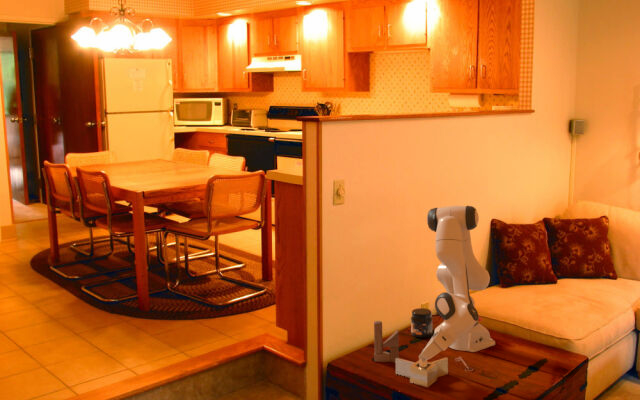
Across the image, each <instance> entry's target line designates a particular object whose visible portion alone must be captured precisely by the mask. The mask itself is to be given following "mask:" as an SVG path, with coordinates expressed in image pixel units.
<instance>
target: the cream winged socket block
mask: <svg viewBox="0 0 640 400" xmlns="http://www.w3.org/2000/svg"><path fill="white" fill-rule="evenodd" d="M448 361H449V359H448V357H447V356H446V357H442V358H440V359H437V360H433V361H430V362H429V361H427V368H426V369H424V368H420V367H419V359H418V360H417V361H416V362H414V361H410V360H406V359H404V358H395V362H394V363H395V375H397V374H398V376H400V375H401V377H404V376H405V377H404V378H408V379H409V383H410V384H413V383H414V385H417V386H422V387H424V388H429V387H430V386H432V385H433V384H434V383H435V382H437V380H438V378H439V377H442V376H445V375H448V373H449V362H448Z"/></svg>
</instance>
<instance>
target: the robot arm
mask: <svg viewBox="0 0 640 400" xmlns="http://www.w3.org/2000/svg"><path fill="white" fill-rule="evenodd" d="M479 218H480V217H479V213H478V210H477V209H476V207H474V206H473V205H466V206H464V205H451V206H443V207H433V208H430V210H428V212H427V216H426V222H427V223H426V224H427V226H428V229H429V230H431V231H432V232H435V253H436V258H437V260H438V261H439V262H440V264H439V265H438V267H437V269H436V271H435V272H436V278H437V281H439V283H440V284H441V285H442V286H443V287H444V289H445V291H446V292H441V293H440V294H438V295H437V296H436V298H435V301H434V308H435V309H434V310H435V311H436V313H438V315H439V316H440V317H441V318H442V320H443V322H441V323H440V324H439V325H438V326H437V327H435V328H434V333H433V334H432V335H431V338H429V339H430V340H429V341H428V342H427V344H426V346H425V347H424V348H422V350H421V353H419V355H418V359H419V358H420V359H423V358H425V359H426V360H427V361H428V360H429V361H430V360H431V359H432V358H434V357H435V356H436V355H437V354H439V353H440V352H442V351H443V352H444V351H446V350H447V349H448V348H450V349H453V350H456V351H461V352H462V351H464V352H470V353H475V352H476V353H477V352H479V351H481V350H486V349H487V348H489V347H493V346H495V345H496V341H495V339H493V338H492V337H491V335H490V331H489V330H488V329H487V328H486V327H485V326H483V325H482V324H480V323H481V322H482V321H483V318H482V317H481V316H479V312H478V310H477V308H476V307H475V306H476V305H475V304H476V302H475V299H474V298H473V296H472V295H471V294H470V290H471V291H484V290H485V289H487V287H488V286H489V284H490V281H491V277H490V274H489V271H488V270H487V269H485V267H483V266H482V264H480V262H479V261H478V260H477V257H476V256H475V254H474V251H473V246H472V238H471V231H472V230H474V229H475V228H477V227H478V225H479Z"/></svg>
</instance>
